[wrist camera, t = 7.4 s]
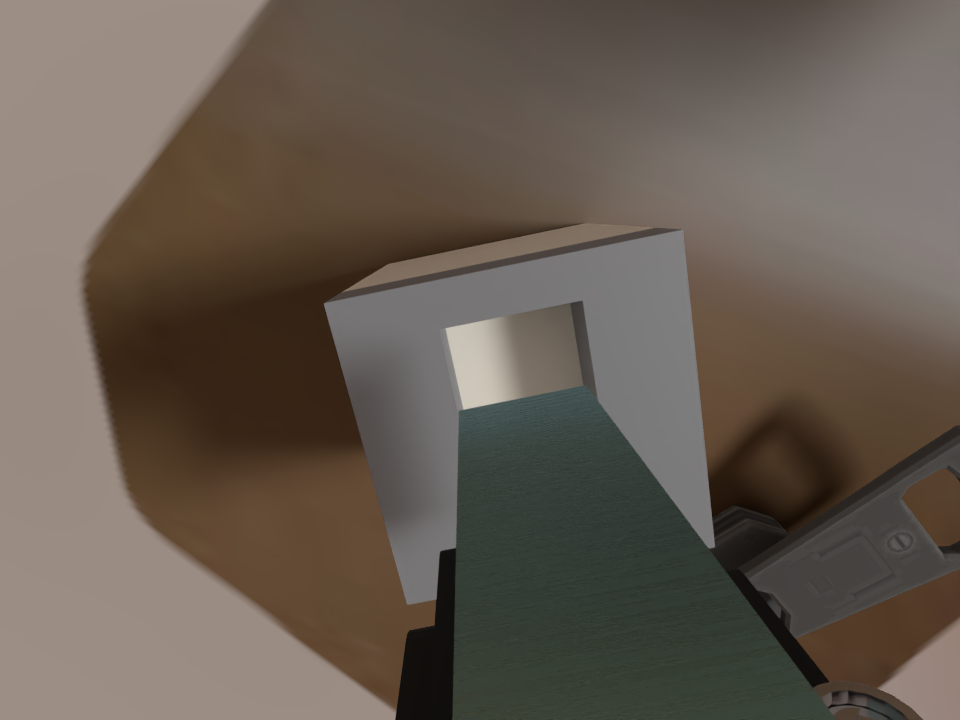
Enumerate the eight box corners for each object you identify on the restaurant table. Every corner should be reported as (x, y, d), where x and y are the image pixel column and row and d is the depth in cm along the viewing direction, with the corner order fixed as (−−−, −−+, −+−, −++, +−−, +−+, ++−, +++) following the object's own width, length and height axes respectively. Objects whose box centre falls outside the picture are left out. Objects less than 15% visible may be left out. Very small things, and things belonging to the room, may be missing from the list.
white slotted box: (585, 223, 30) (682, 229, 16) (612, 409, 33) (714, 547, 19) (388, 263, 30) (323, 303, 17) (432, 444, 33) (407, 604, 19)
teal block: (586, 385, 13) (999, 935, 3) (620, 602, 14) (969, 1447, 4) (458, 410, 13) (446, 1034, 3) (506, 625, 14) (601, 1506, 4)
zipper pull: (1065, 534, 28) (673, 791, 32) (953, 475, 34) (639, 694, 38) (982, 412, 26) (577, 700, 30) (880, 373, 33) (558, 614, 36)
